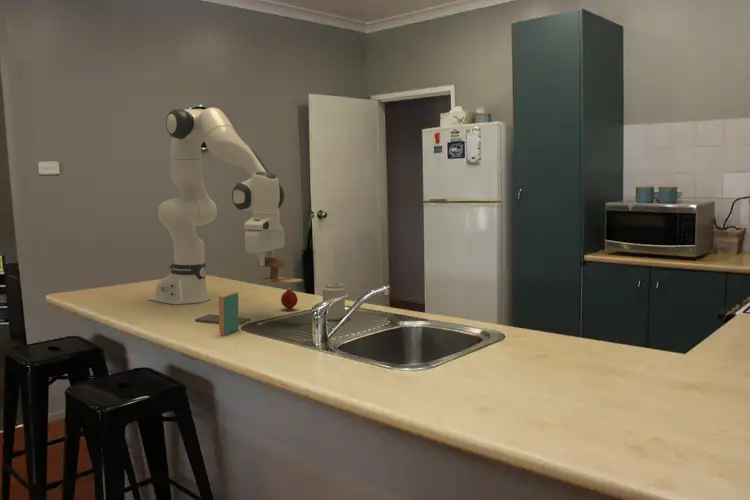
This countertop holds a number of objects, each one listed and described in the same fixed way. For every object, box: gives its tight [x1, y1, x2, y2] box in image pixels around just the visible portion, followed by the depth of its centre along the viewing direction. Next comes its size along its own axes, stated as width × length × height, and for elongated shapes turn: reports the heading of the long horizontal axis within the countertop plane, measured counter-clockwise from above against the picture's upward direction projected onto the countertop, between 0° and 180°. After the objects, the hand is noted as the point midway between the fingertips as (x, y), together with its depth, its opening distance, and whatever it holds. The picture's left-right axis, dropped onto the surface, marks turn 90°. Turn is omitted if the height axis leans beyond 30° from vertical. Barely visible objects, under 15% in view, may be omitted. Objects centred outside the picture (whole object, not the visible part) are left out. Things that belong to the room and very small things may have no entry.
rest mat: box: [194, 313, 251, 325], centre depth 213 cm, size 16×8×1 cm, turn 70°
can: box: [322, 282, 346, 322], centre depth 218 cm, size 8×8×12 cm
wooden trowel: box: [258, 256, 304, 285], centre depth 210 cm, size 14×6×7 cm, turn 70°
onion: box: [280, 287, 298, 310], centre depth 231 cm, size 6×6×8 cm
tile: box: [218, 291, 240, 336], centre depth 198 cm, size 2×8×12 cm, turn 160°
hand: (265, 264), depth 212 cm, fingers closed on wooden trowel, 3 cm apart
